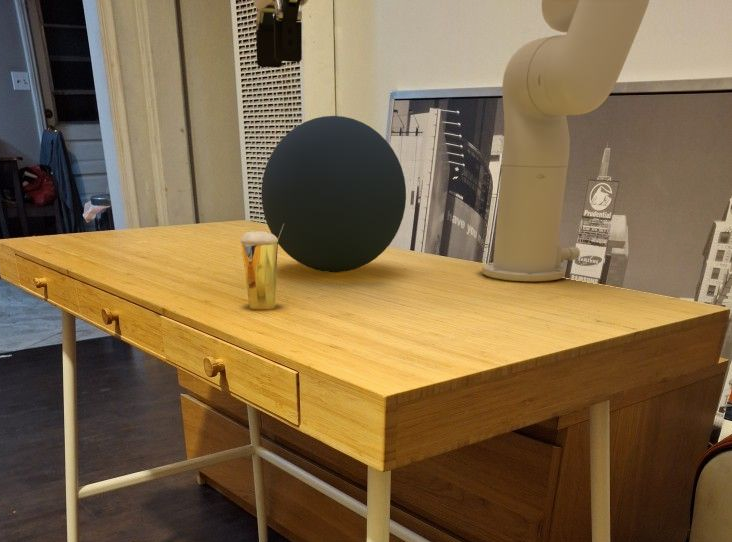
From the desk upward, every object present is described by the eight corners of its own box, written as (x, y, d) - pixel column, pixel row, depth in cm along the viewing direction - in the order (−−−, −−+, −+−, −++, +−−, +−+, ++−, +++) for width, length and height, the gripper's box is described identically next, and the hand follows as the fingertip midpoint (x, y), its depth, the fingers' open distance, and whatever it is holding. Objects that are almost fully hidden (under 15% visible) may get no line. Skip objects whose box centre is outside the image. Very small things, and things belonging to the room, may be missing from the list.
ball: (361, 257, 133) (363, 117, 123) (430, 277, 116) (438, 116, 106) (244, 266, 124) (235, 115, 114) (300, 289, 107) (296, 113, 97)
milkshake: (286, 310, 94) (283, 225, 89) (243, 311, 94) (238, 225, 89) (287, 303, 98) (284, 221, 93) (245, 303, 98) (241, 221, 93)
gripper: (329, -128, 80) (327, 60, 87) (289, -88, 94) (290, 70, 102) (260, -137, 77) (264, 56, 85) (229, -95, 92) (235, 67, 100)
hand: (278, 64), depth 93 cm, fingers open, 9 cm apart
